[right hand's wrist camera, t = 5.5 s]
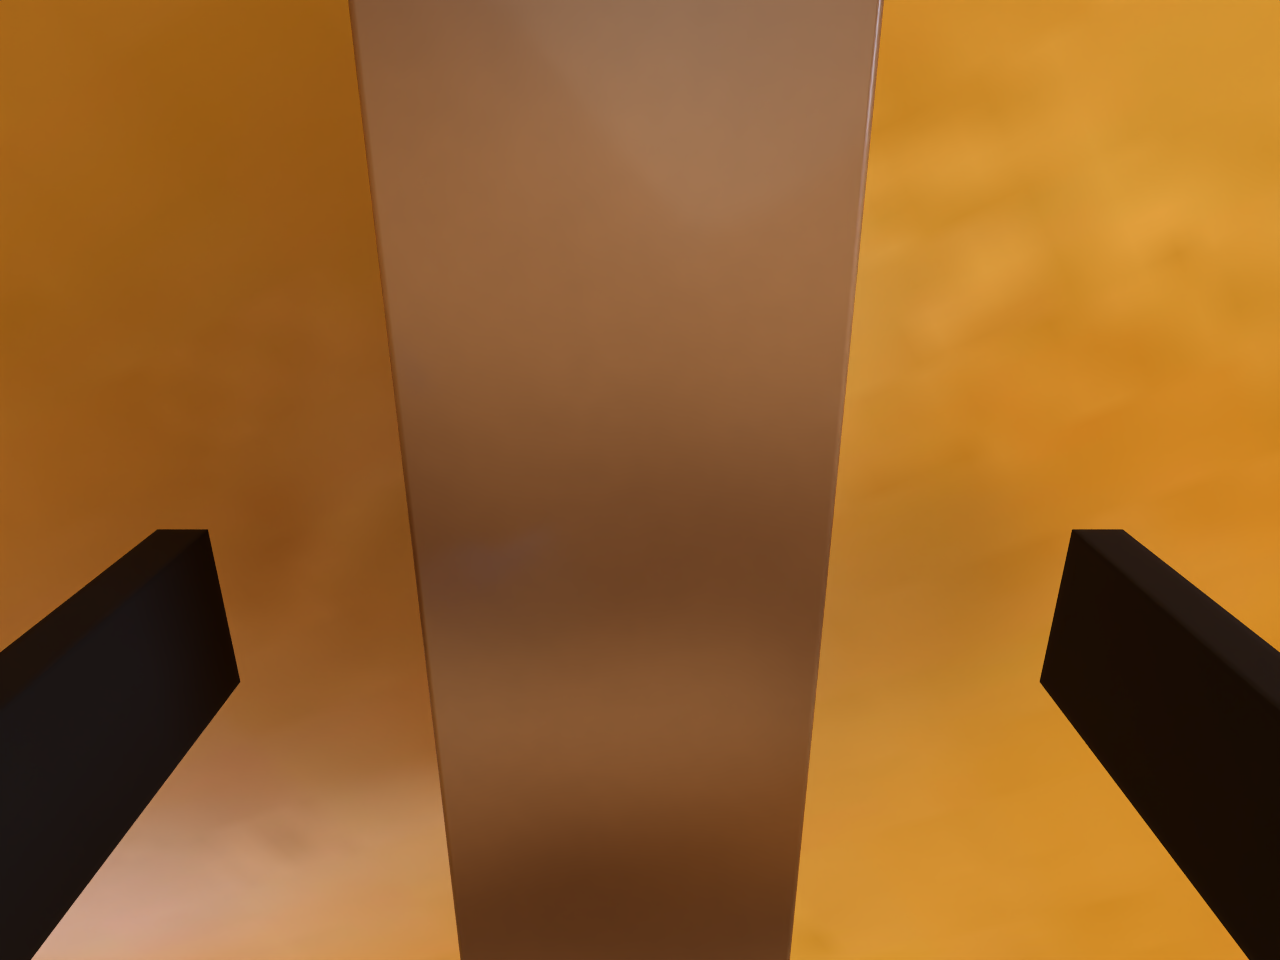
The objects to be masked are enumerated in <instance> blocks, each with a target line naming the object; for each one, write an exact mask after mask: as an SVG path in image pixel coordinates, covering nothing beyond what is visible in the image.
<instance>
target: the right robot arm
mask: <svg viewBox="0 0 1280 960" xmlns="http://www.w3.org/2000/svg"><path fill="white" fill-rule="evenodd" d="M239 683H240V678H239V673H238V669H237V664H236V659H235V655H234V650H233V645H232V641H231V636H230V631H229V627H228V622H227V617H226V612H225V608H224V603H223V598H222V594H221V589H220V584H219V580H218V575H217V570H216V566H215V561H214V556H213V552H212V547H211V542H210V538H209V533H208V530H156V531H155V532H154V533H152V534H151V535H150V536H148V537H147V538H146V539H145V540H143V541H142V542H141V543H139V544H138V545H137V546H136V547H134V548H133V549H132V550H131V551H129V552H128V553H127V554H125V555H124V556H123V557H122V558H120V559H119V560H118V561H116V562H115V563H114V564H113V565H111V566H110V567H109V568H108V569H106V570H105V571H104V572H102V573H101V574H100V575H99V576H97V577H96V578H95V579H93V580H92V581H91V582H90V583H88V584H87V585H86V586H85V587H83V588H82V589H81V590H79V591H78V592H77V593H76V594H74V595H73V596H72V597H70V598H69V599H68V600H67V601H65V602H64V603H63V604H62V605H60V606H59V607H58V608H56V609H55V610H54V611H53V612H51V613H50V614H49V615H48V616H46V617H45V618H44V619H42V620H41V621H40V622H39V623H37V624H36V625H35V626H33V627H32V628H31V629H30V630H28V631H27V632H26V633H25V634H23V635H22V636H21V637H19V638H18V639H17V640H16V641H14V642H13V643H12V644H10V645H9V646H8V647H7V648H5V649H4V650H3V651H2V652H0V960H31V959H32V957H33V956H34V955H35V953H36V952H37V951H38V949H39V948H40V947H41V946H42V944H43V943H44V942H45V940H46V939H47V938H48V936H49V935H50V934H51V932H52V931H53V930H54V928H55V927H56V926H57V924H58V923H59V922H60V920H61V919H62V918H63V916H64V915H65V914H66V912H67V911H68V910H69V908H70V907H71V906H72V904H73V903H74V902H75V900H76V899H77V898H78V896H79V895H80V894H81V892H82V891H83V890H84V888H85V887H86V886H87V884H88V883H89V882H90V881H91V879H92V878H93V877H94V875H95V874H96V873H97V871H98V870H99V869H100V867H101V866H102V865H103V863H104V862H105V861H106V859H107V858H108V857H109V855H110V854H111V853H112V851H113V850H114V849H115V847H116V846H117V845H118V843H119V842H120V841H121V839H122V838H123V837H124V835H125V834H126V833H127V831H128V830H129V829H130V827H131V826H132V825H133V823H134V822H135V821H136V819H137V818H138V817H139V816H140V814H141V813H142V812H143V810H144V809H145V808H146V806H147V805H148V804H149V802H150V801H151V800H152V798H153V797H154V796H155V794H156V793H157V792H158V790H159V789H160V788H161V786H162V785H163V784H164V782H165V781H166V780H167V778H168V777H169V776H170V774H171V773H172V772H173V770H174V769H175V768H176V766H177V765H178V764H179V762H180V761H181V760H182V758H183V757H184V756H185V755H186V753H187V752H188V751H189V749H190V748H191V747H192V745H193V744H194V743H195V741H196V740H197V739H198V737H199V736H200V735H201V733H202V732H203V731H204V729H205V728H206V727H207V725H208V724H209V723H210V721H211V720H212V719H213V717H214V716H215V715H216V713H217V712H218V711H219V709H220V708H221V707H222V705H223V704H224V703H225V701H226V700H227V699H228V697H229V696H230V695H231V693H232V692H233V691H234V690H235V688H236V687H237V686H238V684H239ZM1040 683H1041V684H1042V686H1043V687H1044V688H1045V690H1046V691H1047V692H1048V693H1049V695H1050V696H1051V697H1052V699H1053V700H1054V701H1055V703H1056V704H1057V705H1058V707H1059V708H1060V709H1061V711H1062V712H1063V713H1064V715H1065V716H1066V717H1067V719H1068V720H1069V721H1070V723H1071V724H1072V725H1073V727H1074V728H1075V729H1076V731H1077V732H1078V733H1079V735H1080V736H1081V737H1082V739H1083V740H1084V741H1085V743H1086V744H1087V745H1088V747H1089V748H1090V749H1091V751H1092V752H1093V753H1094V755H1095V756H1096V757H1097V758H1098V760H1099V761H1100V762H1101V764H1102V765H1103V766H1104V768H1105V769H1106V770H1107V772H1108V773H1109V774H1110V776H1111V777H1112V778H1113V780H1114V781H1115V782H1116V784H1117V785H1118V786H1119V788H1120V789H1121V790H1122V792H1123V793H1124V794H1125V796H1126V797H1127V798H1128V800H1129V801H1130V802H1131V804H1132V805H1133V806H1134V808H1135V809H1136V810H1137V812H1138V813H1139V814H1140V816H1141V817H1142V818H1143V819H1144V821H1145V822H1146V823H1147V825H1148V826H1149V827H1150V829H1151V830H1152V831H1153V833H1154V834H1155V835H1156V837H1157V838H1158V839H1159V841H1160V842H1161V843H1162V845H1163V846H1164V847H1165V849H1166V850H1167V851H1168V853H1169V854H1170V855H1171V857H1172V858H1173V859H1174V861H1175V862H1176V863H1177V865H1178V866H1179V867H1180V869H1181V870H1182V871H1183V873H1184V874H1185V875H1186V877H1187V878H1188V879H1189V881H1190V882H1191V883H1192V884H1193V886H1194V887H1195V888H1196V890H1197V891H1198V892H1199V894H1200V895H1201V896H1202V898H1203V899H1204V900H1205V902H1206V903H1207V904H1208V906H1209V907H1210V908H1211V910H1212V911H1213V912H1214V914H1215V915H1216V916H1217V918H1218V919H1219V920H1220V922H1221V923H1222V924H1223V926H1224V927H1225V928H1226V930H1227V931H1228V932H1229V934H1230V935H1231V936H1232V938H1233V939H1234V940H1235V942H1236V943H1237V944H1238V946H1239V947H1240V948H1241V949H1242V951H1243V952H1244V953H1245V955H1246V956H1247V957H1248V959H1249V960H1280V652H1278V651H1277V650H1276V649H1275V648H1273V647H1272V646H1271V645H1270V644H1268V643H1267V642H1266V641H1264V640H1263V639H1262V638H1261V637H1259V636H1258V635H1257V634H1255V633H1254V632H1253V631H1252V630H1250V629H1249V628H1248V627H1247V626H1245V625H1244V624H1243V623H1241V622H1240V621H1239V620H1238V619H1236V618H1235V617H1234V616H1232V615H1231V614H1230V613H1229V612H1227V611H1226V610H1225V609H1224V608H1222V607H1221V606H1220V605H1218V604H1217V603H1216V602H1215V601H1213V600H1212V599H1211V598H1210V597H1208V596H1207V595H1206V594H1204V593H1203V592H1202V591H1201V590H1199V589H1198V588H1197V587H1195V586H1194V585H1193V584H1192V583H1190V582H1189V581H1188V580H1187V579H1185V578H1184V577H1183V576H1181V575H1180V574H1179V573H1178V572H1176V571H1175V570H1174V569H1172V568H1171V567H1170V566H1169V565H1167V564H1166V563H1165V562H1164V561H1162V560H1161V559H1160V558H1158V557H1157V556H1156V555H1155V554H1153V553H1152V552H1151V551H1149V550H1148V549H1147V548H1146V547H1144V546H1143V545H1142V544H1141V543H1139V542H1138V541H1137V540H1135V539H1134V538H1133V537H1132V536H1130V535H1129V534H1128V533H1126V532H1125V531H1124V530H1072V533H1071V538H1070V542H1069V547H1068V552H1067V556H1066V561H1065V566H1064V570H1063V575H1062V580H1061V584H1060V589H1059V594H1058V598H1057V603H1056V608H1055V612H1054V617H1053V622H1052V627H1051V631H1050V636H1049V641H1048V645H1047V650H1046V655H1045V659H1044V664H1043V669H1042V673H1041V678H1040Z"/></svg>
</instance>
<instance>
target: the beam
mask: <svg viewBox="0 0 1280 960" xmlns="http://www.w3.org/2000/svg"><path fill="white" fill-rule="evenodd" d="M348 3H349V11H350V20H351V28H352V37H353V45H354V54H355V63H356V71H357V80H358V88H359V97H360V105H361V114H362V122H363V131H364V139H365V148H366V156H367V165H368V173H369V182H370V191H371V199H372V208H373V216H374V225H375V233H376V242H377V250H378V259H379V267H380V276H381V284H382V293H383V302H384V310H385V319H386V327H387V336H388V344H389V353H390V361H391V370H392V378H393V387H394V395H395V404H396V412H397V421H398V430H399V438H400V447H401V455H402V464H403V472H404V481H405V489H406V498H407V506H408V515H409V523H410V532H411V541H412V549H413V558H414V566H415V575H416V583H417V592H418V600H419V609H420V617H421V626H422V634H423V643H424V651H425V660H426V669H427V677H428V686H429V694H430V703H431V711H432V720H433V728H434V737H435V745H436V754H437V762H438V771H439V779H440V788H441V797H442V805H443V814H444V822H445V831H446V839H447V848H448V856H449V865H450V873H451V882H452V890H453V899H454V908H455V916H456V925H457V933H458V942H459V950H460V959H461V960H790V952H791V942H792V932H793V921H794V911H795V901H796V891H797V881H798V871H799V860H800V850H801V840H802V830H803V820H804V809H805V799H806V789H807V779H808V769H809V758H810V748H811V738H812V728H813V718H814V708H815V697H816V687H817V677H818V667H819V657H820V646H821V636H822V626H823V616H824V606H825V596H826V585H827V575H828V565H829V555H830V545H831V534H832V524H833V514H834V504H835V494H836V483H837V473H838V463H839V453H840V443H841V433H842V422H843V412H844V402H845V392H846V382H847V371H848V361H849V351H850V341H851V331H852V320H853V310H854V300H855V290H856V280H857V270H858V259H859V249H860V239H861V229H862V219H863V208H864V198H865V188H866V178H867V168H868V157H869V147H870V137H871V127H872V117H873V107H874V96H875V86H876V76H877V66H878V56H879V45H880V35H881V25H882V15H883V5H884V0H348Z"/></svg>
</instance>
